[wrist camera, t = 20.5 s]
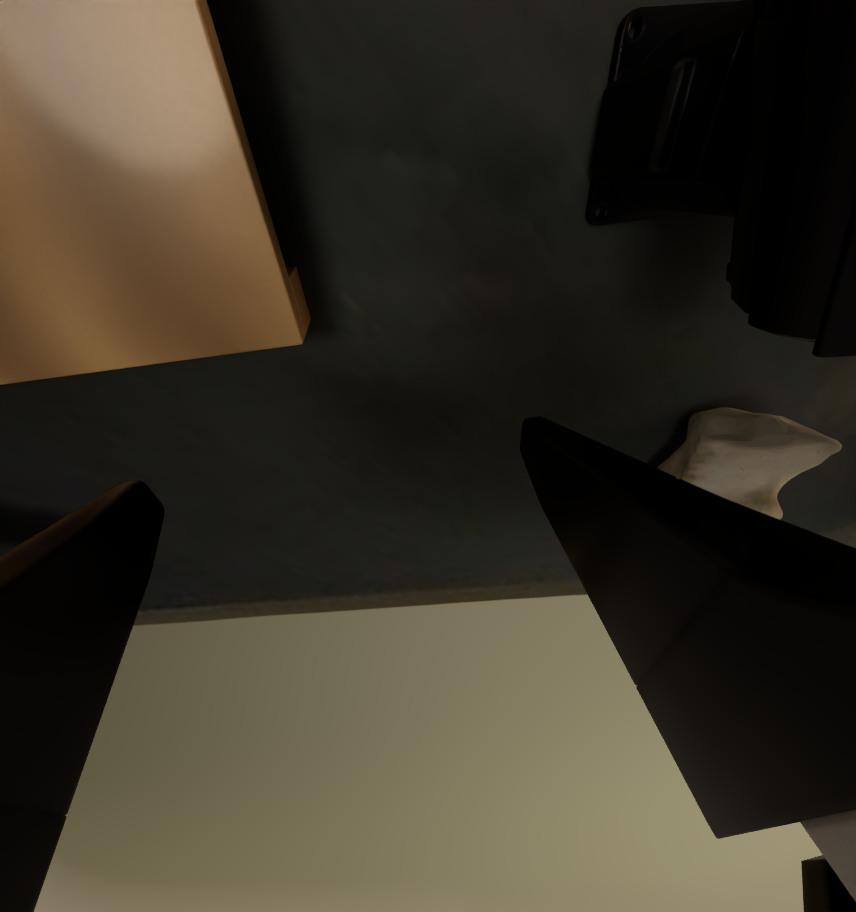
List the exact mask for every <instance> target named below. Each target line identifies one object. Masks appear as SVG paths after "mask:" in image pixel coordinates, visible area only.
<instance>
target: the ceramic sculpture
mask: <svg viewBox="0 0 856 912" xmlns="http://www.w3.org/2000/svg"><path fill="white" fill-rule="evenodd" d="M841 448H842V445H841V444H840V443H839V442H838V441H837V440H835V439H832V438H830V437H827V436H825V435H823V434H821V433H819V432H817V431H815V430H812V429H810V428H808V427H805V426H803V425H800V424H798V423H796V422H794V421H791V420H789V419H787V418H785V417H783V416H774V415H770V414H758V413H751V412H747V411H743V410H739V409H735V408H728V407H722V408H715V409H711V410H708V411H701V412H698V413H695V414H693V415H692V416H691V417H690V419H689V422H688V432H687V438H686V441H685V442H684V443H683V444H682V445H681V446H680V447H679V448H678V449H677V450H676V451H675V452H674V453H673V454H672V455H671V456H670V457H669V458H668V459H667V460H665V461H664V462H663V463H662V464H661V465H659V466H658V467H657V469H660V470H662V471H664V472H666V473H669V474H671V475H673V476H675V477H676V478H677V479H682V480H684V481H687V482H689V483H691V484H693V485H695V486H698V487H700V488H702V489H705V490H707V491H709V492H712V493H714V494H716V495H719V496H721V497H723V498H726V499H728V500H731V501H733V502H736V503H738V504H741V505H743V506H746V507H748V508H751V509H753V510H756V511H759V512H761V513H764V514H766V515H769V516H772V517H774V518H777V519H779V520H781V518H782V515H783V512H782V510H781V508H780V505H779V503H778V500H777V494H778V492H779V490H780V489H781V487H782V486H783V485H784V484H785V483H786V482H788V481H789V480H790V479H792V478H793V477H795V476H796V475H798V474H799V473H801V472H803V471H806V470H808V469H810V468H813V467H815V466H817V465H819V464H821V463H822V462H823V461H824V460H825V459H827V458H828V457H829V456H830V455H833V454H835V453H837V452H839V451H840V450H841Z"/></svg>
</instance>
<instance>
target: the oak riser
mask: <svg viewBox="0 0 856 912" xmlns="http://www.w3.org/2000/svg"><path fill="white" fill-rule="evenodd" d="M310 320H311V318H310V314H309V310H308V307H307V303H306V300H305V296H304V293H303V289H302V285H301V282H300V278H299V275H298V271H297V268H296V267H287V268H286V266H285V263H284V260H283V256H282V253H281V250H280V246H279V243H278V240H277V236H276V233H275V229H274V226H273V223H272V219H271V216H270V213H269V209H268V206H267V203H266V199H265V196H264V192H263V189H262V186H261V182H260V179H259V176H258V172H257V169H256V166H255V162H254V159H253V155H252V152H251V149H250V145H249V142H248V139H247V135H246V132H245V129H244V125H243V122H242V118H241V115H240V112H239V108H238V105H237V102H236V98H235V95H234V92H233V88H232V85H231V81H230V78H229V75H228V71H227V68H226V65H225V61H224V58H223V55H222V51H221V48H220V44H219V41H218V38H217V34H216V31H215V28H214V24H213V21H212V18H211V14H210V11H209V7H208V4H207V1H206V0H0V385H3V384H10V383H18V382H25V381H33V380H40V379H47V378H55V377H62V376H70V375H77V374H85V373H92V372H100V371H107V370H115V369H122V368H129V367H137V366H144V365H152V364H159V363H167V362H174V361H182V360H189V359H197V358H204V357H212V356H219V355H226V354H234V353H241V352H249V351H256V350H264V349H271V348H279V347H286V346H294V345H301V344H303V341H304V338H305V335H306V333H307V330H308V326H309V323H310Z"/></svg>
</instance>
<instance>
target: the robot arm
mask: <svg viewBox="0 0 856 912" xmlns="http://www.w3.org/2000/svg"><path fill="white" fill-rule="evenodd" d="M632 22H633V23H634V24H635V26H636V33H635V36H634V38H633V39H631V38H630V36H629V28H630V26H631V23H632ZM591 171H592V173H593V175H592V181H591V187H590V193H589V199H588V205H587V211H586V218H587V221H588V222H589V223H591V224H598V225H599V224H608V223H617V222H625V221H634V220H643V219H652V218H660V217H669V216H678V215H686V214H695V213H700V214H710V215H720V216H730V217H735V219H734V230H733V241H732V252H731V262H730V263H729V264H728V265H727V271H726V280H727V281H728V282H729V283H730V284H731V299H732V300H733V301H734V302H735V303H736V304H737V305H738V306H739V307H740V308H741V309H742V310H743V311H744V312H746V313H747V314H749V317H748V324H750V325H751V326H753V327H756V328H758V329H761V330H764V331H766V332H769V333H772V334H775V335H778V336H783V337H789V338H794V339H800V340H805V341H811V342H815V344H814V348H813V352H812V353H813V355H814V356H817V357H840V356H856V0H742V1H733V2H717V3H702V4H687V5H671V6H656V7H640V8H637V9H635V10H633V11H631V12H630V13H628V14H627V15H626V16H625V17H624V18H623V19H622V21H621V23H620V24H619V27H618V30H617V34H616V40H615V46H614V52H613V58H612V63H611V69H610V75H609V81H608V87H607V88H606V89H605V91H604V93H603V97H602V103H601V109H600V115H599V121H598V128H597V134H596V140H595V146H594V152H593V158H592V164H591ZM599 206H601V213H600V215H599V216H598V217H596V210H597V208H598V207H599ZM520 451H521V455H522V458H523V460H524V463H525V466H526V468H527V471H528V473H529V476H530V479H531V481H532V484H533V487H534V489H535V492H536V495H537V497H538V500H539V502H540V504H541V506H542V508H543V510H544V512H545V514H546V516H547V518H548V520H549V522H550V524H551V526H552V528H553V530H554V531H555V533H556V535H557V537H558V539H559V541H560V543H561V545H562V547H563V549H564V550H565V552H566V554H567V556H568V558H569V560H570V562H571V564H572V566H573V568H574V569H575V571H576V573H577V575H578V577H579V579H580V581H581V583H582V585H583V587H584V588H585V590H586V592H587V594H588V596H589V598H590V600H591V602H592V604H593V605H594V607H595V609H596V611H597V613H598V615H599V617H600V619H601V621H602V623H603V625H604V626H605V628H606V630H607V632H608V634H609V636H610V638H611V640H612V642H613V644H614V645H615V647H616V649H617V651H618V653H619V655H620V657H621V659H622V661H623V662H624V664H625V666H626V668H627V670H628V672H629V674H630V676H631V678H632V680H633V682H634V683H635V685H637V690H638V691H639V694H640V695H641V697H642V699H643V701H644V703H645V705H646V707H647V709H648V711H649V713H650V714H651V716H652V718H653V720H654V722H655V724H656V726H657V727H658V730H659V732H660V733H661V735H662V737H663V739H664V741H665V743H666V745H667V747H668V749H669V750H670V752H671V754H672V756H673V758H674V760H675V762H676V764H677V766H678V767H679V770H680V771H681V773H682V775H683V777H684V779H685V781H686V783H687V785H688V787H689V788H690V790H691V792H692V794H693V796H694V798H695V800H696V802H697V804H698V805H699V807H700V809H701V811H702V813H703V815H704V817H705V819H706V821H707V823H708V824H709V826H710V828H711V830H712V831H713V833H714V835H715V836H716V838H718V839H720V838H724V837H729V836H733V835H739V834H743V833H748V832H753V831H758V830H763V829H767V828H772V827H777V826H782V825H787V824H791V823H796V822H801V824H802V825H803V827H804V828H805V830H806V831H807V833H808V834H809V835H810V837H811V838H812V840H813V841H814V843H815V844H816V845H817V847H818V848H819V849H820V851H821V853H822V854H823V855H822V856H818V857H815V858H811V859H807V860H804V861H802V881H803V902H804V912H856V548H854V547H851V546H848V545H845V544H842V543H840V542H837V541H835V540H832V539H829V538H827V537H824V536H821V535H819V534H816V533H814V532H811V531H808V530H806V529H803V528H800V527H798V526H795V525H793V524H790V523H787V522H785V521H782V520H779V519H777V518H774V517H772V516H769V515H766V514H764V513H761V512H759V511H756V510H753V509H751V508H748V507H746V506H743V505H741V504H738V503H736V502H733V501H731V500H728V499H726V498H723V497H721V496H719V495H716V494H714V493H712V492H709V491H707V490H705V489H702V488H700V487H698V486H695V485H693V484H691V483H689V482H687V481H684V480H682V479H677V478H676V477H675V476H673V475H671V474H669V473H666V472H664V471H662V470H660V469H657V468H655V467H653V466H651V465H648V464H646V463H644V462H642V461H639V460H637V459H635V458H633V457H631V456H628V455H626V454H624V453H622V452H619V451H617V450H615V449H613V448H610V447H608V446H606V445H604V444H601V443H599V442H597V441H595V440H592V439H590V438H588V437H586V436H584V435H581V434H579V433H577V432H575V431H572V430H570V429H568V428H566V427H563V426H561V425H559V424H557V423H554V422H552V421H550V420H548V419H545V418H543V417H540V416H538V417H532V418H526V419H525V420H524V421H523V424H522V433H521V442H520ZM163 519H164V507H163V505H162V503H161V502H160V501H159V500H158V498H157V497H156V496H155V495H154V493H153V492H152V491H151V490H150V488H149V487H148V486H147V485H146V484H145V483H144V482H142V481H131V482H124V483H120V484H117V485H116V486H114V487H112V488H111V489H109V490H108V491H106V492H104V493H103V494H101V495H99V496H98V497H96V498H95V499H93V500H91V501H90V502H88V503H87V504H85V505H83V506H82V507H80V508H78V509H77V510H75V511H74V512H72V513H70V514H69V515H67V516H66V517H64V518H62V519H61V520H59V521H57V522H56V523H54V524H53V525H51V526H49V527H48V528H46V529H44V530H43V531H41V532H40V533H38V534H36V535H35V536H33V537H32V538H30V539H28V540H27V541H25V542H23V543H22V544H20V545H19V546H17V547H15V548H14V549H12V550H11V551H9V552H7V553H6V554H4V555H2V556H1V557H0V912H34V909H35V906H36V903H37V900H38V898H39V895H40V892H41V889H42V886H43V883H44V880H45V878H46V875H47V872H48V869H49V866H50V863H51V860H52V857H53V854H54V852H55V849H56V846H57V843H58V840H59V837H60V834H61V831H62V829H63V826H64V823H65V820H66V816H65V815H66V814H67V813H68V810H69V808H70V805H71V802H72V799H73V796H74V793H75V790H76V788H77V785H78V782H79V779H80V776H81V773H82V770H83V767H84V764H85V762H86V759H87V756H88V753H89V750H90V747H91V745H92V742H93V739H94V736H95V732H96V730H97V727H98V725H99V722H100V719H101V716H102V713H103V710H104V707H105V704H106V702H107V699H108V696H109V693H110V690H111V687H112V684H113V682H114V679H115V676H116V673H117V670H118V667H119V664H120V661H121V658H122V656H123V653H124V650H125V647H126V644H127V641H128V638H129V636H130V632H131V630H132V627H133V624H134V621H135V619H136V616H137V613H138V610H139V607H140V604H141V601H142V599H143V596H144V593H145V590H146V587H147V584H148V581H149V578H150V575H151V571H152V567H153V563H154V559H155V555H156V550H157V546H158V541H159V537H160V532H161V528H162V523H163Z"/></svg>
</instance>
